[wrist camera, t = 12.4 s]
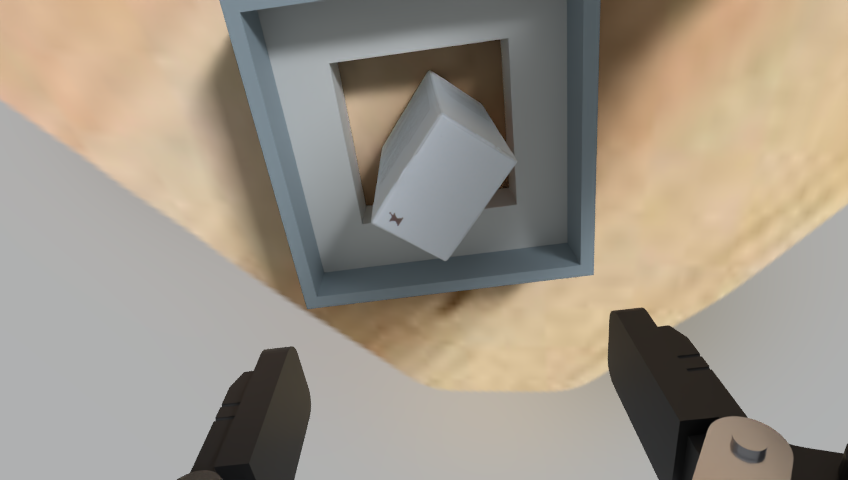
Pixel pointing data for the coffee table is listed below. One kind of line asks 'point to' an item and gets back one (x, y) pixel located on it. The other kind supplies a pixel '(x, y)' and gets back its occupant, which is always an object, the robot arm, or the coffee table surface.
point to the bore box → (336, 159)
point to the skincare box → (439, 168)
